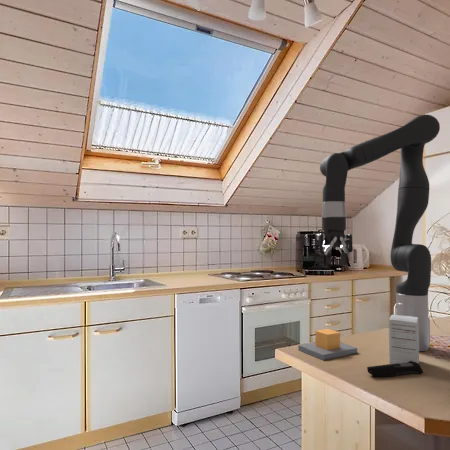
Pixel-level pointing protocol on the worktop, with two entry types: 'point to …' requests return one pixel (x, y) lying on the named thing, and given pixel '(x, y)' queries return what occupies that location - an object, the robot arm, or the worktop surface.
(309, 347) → the plate
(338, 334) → the orange rounded cube
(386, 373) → the electric trimmer
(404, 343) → the supplement box
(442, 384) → the worktop surface
